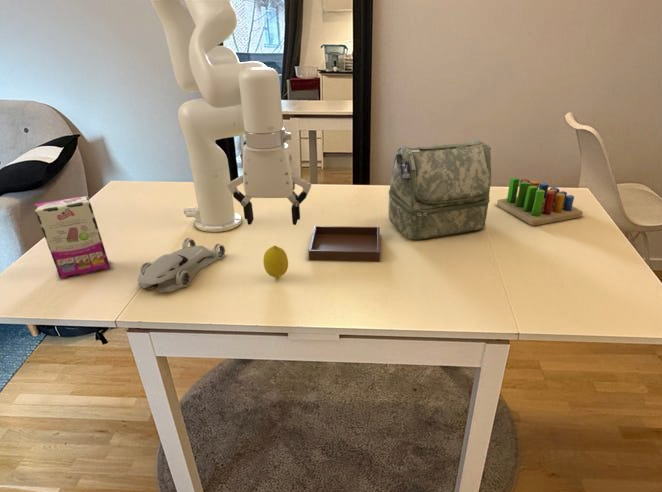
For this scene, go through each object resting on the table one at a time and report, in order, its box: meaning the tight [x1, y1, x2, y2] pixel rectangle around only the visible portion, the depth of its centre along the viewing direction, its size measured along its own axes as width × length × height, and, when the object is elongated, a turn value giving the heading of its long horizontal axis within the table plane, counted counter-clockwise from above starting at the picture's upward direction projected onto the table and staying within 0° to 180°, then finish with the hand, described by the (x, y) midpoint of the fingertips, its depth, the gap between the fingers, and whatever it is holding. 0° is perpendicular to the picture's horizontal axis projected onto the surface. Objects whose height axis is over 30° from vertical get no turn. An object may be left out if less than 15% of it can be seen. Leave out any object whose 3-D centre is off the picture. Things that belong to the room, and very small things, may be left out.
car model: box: [136, 237, 226, 293], centre depth 126 cm, size 11×24×5 cm, turn 158°
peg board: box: [496, 176, 584, 226], centre depth 156 cm, size 18×17×9 cm
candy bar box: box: [34, 195, 111, 280], centre depth 123 cm, size 11×5×16 cm, turn 118°
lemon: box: [262, 245, 289, 279], centre depth 123 cm, size 6×6×8 cm
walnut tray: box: [308, 225, 381, 263], centre depth 138 cm, size 17×15×2 cm
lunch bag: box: [387, 140, 492, 240], centre depth 143 cm, size 26×18×22 cm
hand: (272, 222), depth 117 cm, fingers open, 9 cm apart
